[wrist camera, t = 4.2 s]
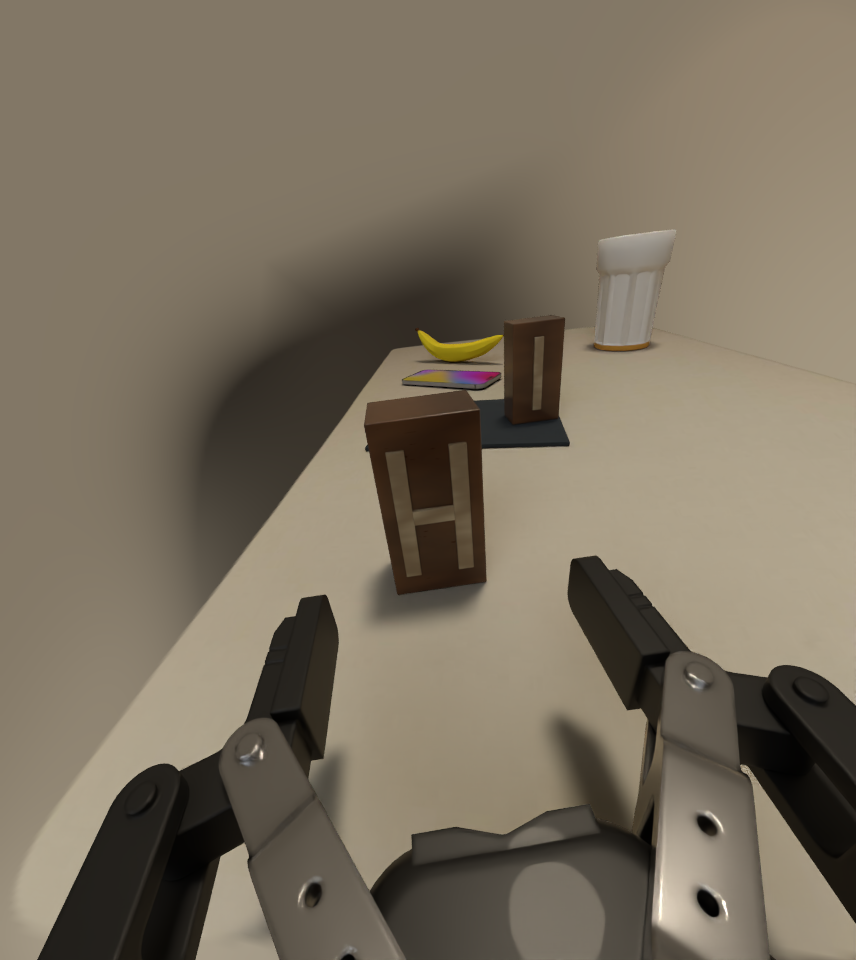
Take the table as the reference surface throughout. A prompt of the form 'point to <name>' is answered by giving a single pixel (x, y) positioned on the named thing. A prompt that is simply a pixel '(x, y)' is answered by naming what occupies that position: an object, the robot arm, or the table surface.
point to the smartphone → (452, 378)
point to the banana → (458, 348)
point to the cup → (630, 288)
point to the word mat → (516, 429)
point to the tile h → (430, 488)
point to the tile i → (533, 368)
